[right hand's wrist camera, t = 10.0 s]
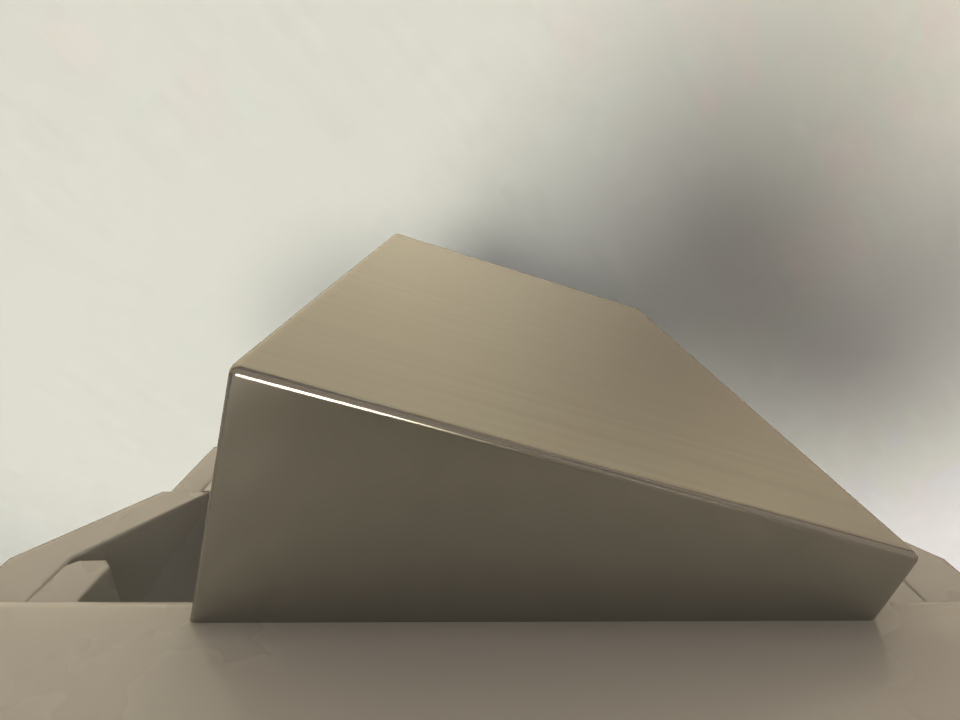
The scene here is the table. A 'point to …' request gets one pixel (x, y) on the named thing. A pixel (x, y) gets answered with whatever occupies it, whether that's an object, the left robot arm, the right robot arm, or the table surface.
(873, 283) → the table surface
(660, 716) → the right robot arm
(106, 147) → the table surface
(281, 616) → the box
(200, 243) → the table surface
